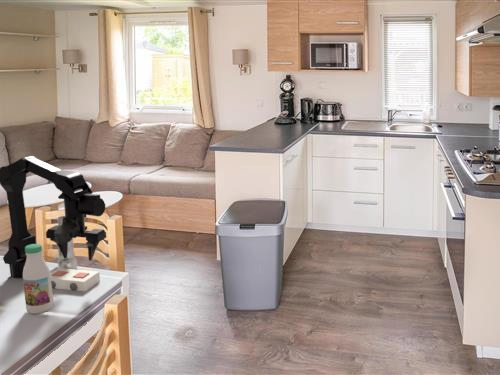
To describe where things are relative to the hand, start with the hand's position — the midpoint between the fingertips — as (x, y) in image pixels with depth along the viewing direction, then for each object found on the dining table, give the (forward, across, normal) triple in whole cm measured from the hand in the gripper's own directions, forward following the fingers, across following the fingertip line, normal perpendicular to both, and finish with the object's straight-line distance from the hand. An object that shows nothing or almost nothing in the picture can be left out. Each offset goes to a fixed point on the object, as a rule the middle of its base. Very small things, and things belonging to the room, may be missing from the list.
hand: (78, 259), depth 178 cm
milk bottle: (+10, -3, -17) cm, 20 cm away
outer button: (+7, 0, +1) cm, 7 cm away
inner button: (+8, -8, +1) cm, 11 cm away
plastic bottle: (+10, -13, +12) cm, 20 cm away
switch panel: (+10, -4, +1) cm, 11 cm away
